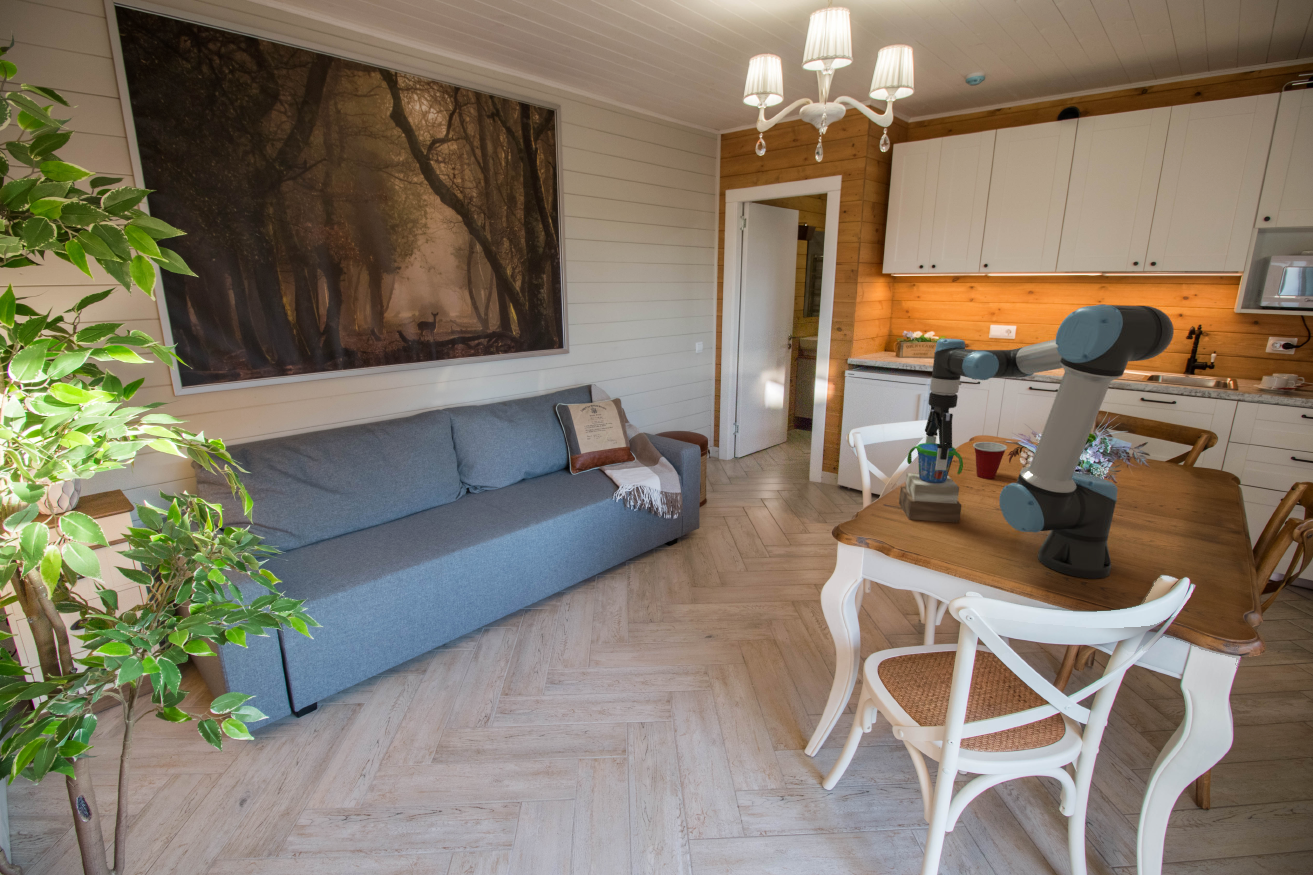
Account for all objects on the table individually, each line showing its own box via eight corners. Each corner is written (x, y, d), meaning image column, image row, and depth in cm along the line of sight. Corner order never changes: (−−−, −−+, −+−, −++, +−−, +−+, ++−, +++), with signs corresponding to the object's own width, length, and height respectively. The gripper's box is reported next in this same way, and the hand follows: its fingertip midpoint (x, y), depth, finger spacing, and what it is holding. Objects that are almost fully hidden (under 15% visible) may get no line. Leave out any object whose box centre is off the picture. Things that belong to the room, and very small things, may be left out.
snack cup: (898, 476, 189) (902, 444, 187) (916, 470, 196) (920, 439, 193) (949, 490, 178) (954, 455, 175) (966, 483, 184) (971, 450, 182)
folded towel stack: (959, 522, 182) (964, 488, 179) (908, 519, 184) (913, 485, 181) (945, 506, 195) (950, 474, 192) (898, 502, 197) (902, 471, 195)
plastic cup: (961, 473, 229) (966, 442, 226) (985, 471, 232) (990, 440, 229) (985, 482, 219) (990, 449, 216) (1009, 480, 222) (1014, 447, 219)
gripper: (971, 401, 168) (960, 476, 173) (945, 386, 192) (936, 452, 197) (941, 400, 169) (931, 474, 174) (919, 385, 193) (911, 451, 198)
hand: (934, 463), depth 185 cm, fingers open, 13 cm apart
